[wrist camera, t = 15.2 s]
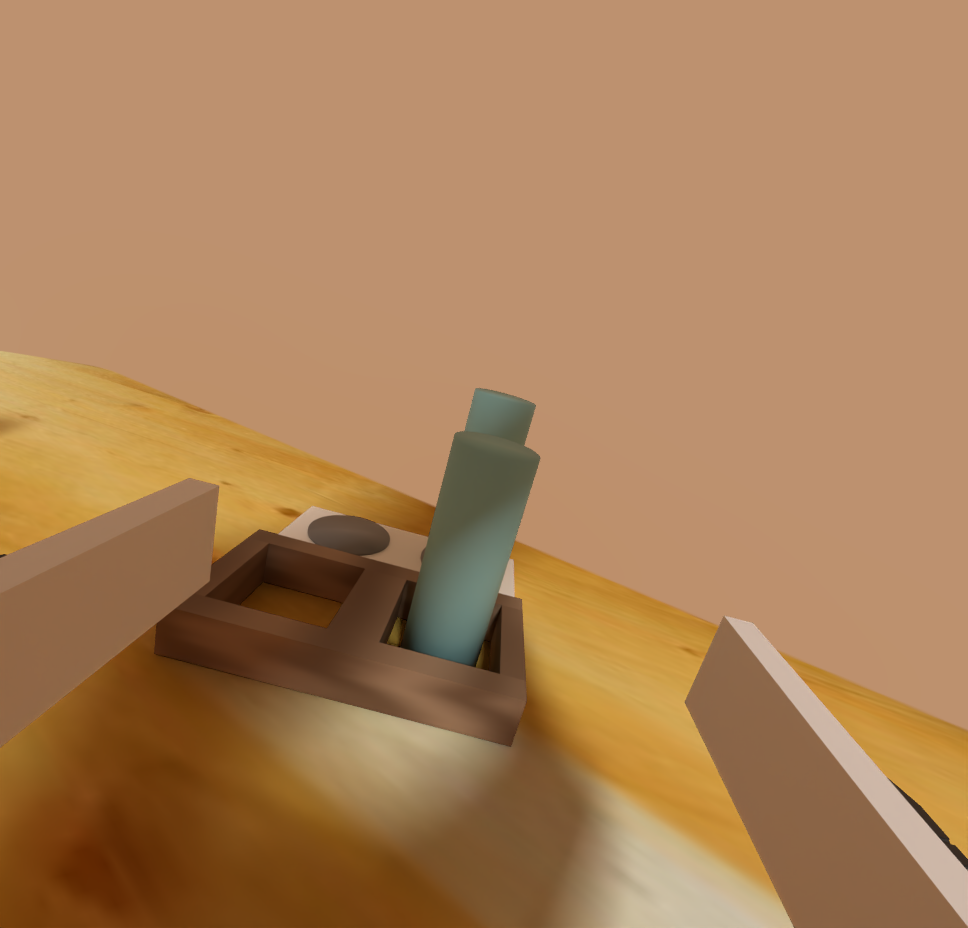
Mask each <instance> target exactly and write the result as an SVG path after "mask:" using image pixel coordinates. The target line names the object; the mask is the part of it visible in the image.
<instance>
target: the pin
mask: <svg viewBox="0 0 968 928" xmlns="http://www.w3.org/2000/svg"><path fill="white" fill-rule="evenodd" d="M535 407H536V405H535V404H534V403H531V402H529V401H527V400H524V399H521V398H518V397H515V396H512V395H508V394H505V393H501V392H497V391H493V390H488V389H481V388H476V389H475V392H474V396H473V400H472V404H471V408H470V412H469V416H468V419H467V423H466V427H465V431H468V432H478V433H484V434H489V435H493V436H497V437H500V438H504V439H507V440H510V441H513V442H516V443H518V444H521V445H523V446H524V444H525V441H526V438H527V434H528V431H529V427H530V424H531V421H532V417H533V414H534V410H535Z"/></svg>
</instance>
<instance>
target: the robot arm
mask: <svg viewBox="0 0 968 928" xmlns="http://www.w3.org/2000/svg"><path fill="white" fill-rule="evenodd" d="M218 493H219V486H218V485H215V484H211V483H207V482H203V481H199V480H195V479H191V478H188V479H186V480H184V481H181V482H179V483H176V484H174V485H172V486H169V487H167V488H165V489H162V490H160V491H158V492H155V493H153V494H150V495H148V496H146V497H143V498H141V499H139V500H136V501H134V502H131V503H129V504H127V505H124V506H122V507H120V508H117V509H115V510H113V511H110V512H108V513H105V514H103V515H101V516H98V517H96V518H94V519H91V520H89V521H87V522H84V523H82V524H79V525H77V526H75V527H72V528H70V529H68V530H65V531H63V532H61V533H58V534H56V535H53V536H51V537H49V538H46V539H44V540H42V541H39V542H37V543H34V544H32V545H30V546H27V547H25V548H23V549H20V550H18V551H16V552H13V553H11V554H8V555H6V554H3V555H0V747H2V746H3V745H4V744H5V743H7V742H8V741H9V740H10V739H12V738H13V737H14V736H15V735H17V734H18V733H19V732H20V731H22V730H23V729H24V728H25V727H27V726H28V725H29V724H30V723H32V722H33V721H34V720H36V719H37V718H38V717H39V716H41V715H42V714H43V713H44V712H46V711H47V710H48V709H49V708H51V707H52V706H53V705H54V704H56V703H57V702H58V701H59V700H61V699H62V698H63V697H64V696H66V695H67V694H68V693H69V692H71V691H72V690H73V689H75V688H76V687H77V686H78V685H80V684H81V683H82V682H83V681H85V680H86V679H87V678H88V677H90V676H91V675H92V674H93V673H95V672H96V671H97V670H98V669H100V668H101V667H102V666H103V665H105V664H106V663H107V662H108V661H110V660H111V659H112V658H114V657H115V656H116V655H117V654H119V653H120V652H121V651H122V650H124V649H125V648H126V647H127V646H129V645H130V644H131V643H132V642H134V641H135V640H136V639H137V638H139V637H140V636H141V635H142V634H144V633H145V632H146V631H148V630H149V629H150V628H151V627H153V626H154V625H155V624H156V623H158V622H159V621H160V620H161V619H163V618H164V617H165V616H166V615H168V614H169V613H170V612H171V611H173V610H174V609H175V608H176V607H178V606H179V605H180V604H181V603H183V602H184V601H185V600H187V599H188V598H189V597H190V596H192V595H193V594H194V593H195V592H197V591H198V590H199V589H200V588H202V587H203V586H204V585H205V584H207V583H208V582H209V581H210V573H211V563H212V553H213V543H214V533H215V523H216V513H217V503H218ZM685 704H686V706H687V708H688V710H689V712H690V714H691V716H692V718H693V720H694V722H695V724H696V727H697V729H698V731H699V733H700V735H701V737H702V739H703V741H704V743H705V745H706V747H707V749H708V751H709V753H710V755H711V757H712V759H713V762H714V764H715V766H716V768H717V770H718V772H719V774H720V776H721V778H722V780H723V782H724V784H725V786H726V788H727V790H728V792H729V794H730V796H731V799H732V801H733V803H734V805H735V807H736V809H737V811H738V813H739V815H740V817H741V819H742V821H743V823H744V825H745V827H746V829H747V831H748V834H749V836H750V838H751V840H752V842H753V844H754V846H755V848H756V850H757V852H758V854H759V856H760V858H761V860H762V862H763V864H764V866H765V869H766V871H767V873H768V875H769V877H770V879H771V881H772V883H773V885H774V887H775V889H776V891H777V893H778V895H779V897H780V899H781V901H782V904H783V906H784V908H785V910H786V912H787V914H788V916H789V918H790V920H791V922H792V924H793V926H794V928H968V859H967V858H966V857H965V856H964V855H963V854H962V852H961V851H960V850H959V849H958V848H957V847H956V846H955V845H951V844H950V842H949V838H948V837H947V835H946V834H945V833H944V832H943V831H942V830H941V829H940V828H939V826H938V825H937V824H936V823H935V822H934V821H933V820H932V819H931V817H930V816H929V815H928V814H927V813H926V812H925V811H924V810H923V808H922V807H921V806H920V805H919V804H917V803H916V802H915V801H914V800H913V799H912V798H911V797H909V796H908V795H907V794H906V793H905V792H904V791H902V790H901V789H900V788H899V787H898V786H897V785H895V784H894V783H893V782H892V781H891V780H890V779H888V778H887V777H886V776H885V775H884V774H883V773H882V771H881V770H880V769H879V768H878V767H877V766H876V764H875V763H874V762H873V761H872V760H871V759H870V758H869V756H868V755H867V754H866V753H865V752H864V751H863V749H862V748H861V747H860V746H859V745H858V744H857V743H856V741H855V740H854V739H853V738H852V737H851V736H850V734H849V733H848V732H847V731H846V730H845V729H844V728H843V726H842V725H841V724H840V723H839V722H838V721H837V719H836V718H835V717H834V716H833V715H832V714H831V713H830V711H829V710H828V709H827V708H826V707H825V706H824V704H823V703H822V702H821V701H820V700H819V699H818V698H817V696H816V695H815V694H814V693H813V692H812V691H811V689H810V688H809V687H808V686H807V685H806V684H805V683H804V681H803V680H802V679H801V678H800V677H799V676H798V674H797V673H796V672H795V671H794V670H793V669H792V668H791V666H790V665H789V664H788V663H787V662H786V661H785V659H784V658H783V657H782V656H781V655H780V654H779V653H778V651H777V650H776V649H775V648H774V647H773V646H772V644H771V643H770V642H769V641H768V640H767V639H766V638H765V637H764V636H763V634H762V633H761V632H760V631H759V629H758V628H757V627H756V626H755V625H754V624H753V623H751V622H747V621H743V620H739V619H735V618H731V617H727V616H724V617H723V619H722V621H721V623H720V625H719V628H718V630H717V632H716V634H715V636H714V639H713V641H712V643H711V645H710V647H709V650H708V652H707V654H706V656H705V658H704V661H703V663H702V665H701V667H700V669H699V672H698V674H697V676H696V678H695V680H694V683H693V685H692V687H691V689H690V691H689V694H688V696H687V698H686V700H685Z"/></svg>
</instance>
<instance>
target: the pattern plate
mask: <svg viewBox="0 0 968 928" xmlns="http://www.w3.org/2000/svg"><path fill="white" fill-rule="evenodd" d="M279 535H283V536H286V537H290V538H294V539H298V540H301V541H305V542H309V543H313V544H317V545H320V546H324V547H328V548H332V549H335V550H339V551H343V552H347V553H350V554H354V555H358V556H362V557H365V558H369V559H373V560H377V561H380V562H384V563H388V564H392V565H396V566H399V567H403V568H407V569H411V570H414V571H418V572H420V568H421V564H422V560H423V557H424V553H425V549H426V545H427V541H428V537H427V536H423V535H419V534H415V533H412V532H408V531H404V530H400V529H397V528H393V527H389V526H386V525H382V524H378V523H375V522H373V521H370V520H367V519H364V518H360V517H355V516H348V515H344V514H341V513H337V512H333V511H329V510H326V509H322V508H318V507H314V506H312V507H310V508H309V509H308V510H307V511H306V512H304V513H303V514H302V515H301V516H299V517H298V518H297V519H296V520H295V521H293V522H292V523H291V524H290V525H288V526H287V527H286V528H285V529H284V530H282V531H281V532H280V533H279ZM499 593H501V594H505V595H508V596H512V597H514V560H513V559H509V561H508V564H507V567H506V570H505V574H504V577H503V580H502V583H501V586H500V590H499Z"/></svg>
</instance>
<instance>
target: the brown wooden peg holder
mask: <svg viewBox="0 0 968 928" xmlns="http://www.w3.org/2000/svg"><path fill="white" fill-rule="evenodd" d="M418 576H419V572H418V571H414V570H411V569H407V568H403V567H399V566H396V565H392V564H388V563H384V562H380V561H377V560H373V559H369V558H365V557H362V556H358V555H354V554H350V553H347V552H343V551H339V550H335V549H332V548H328V547H324V546H320V545H317V544H313V543H309V542H305V541H301V540H298V539H294V538H290V537H286V536H283V535H279V534H275V533H271V532H268V531H264V530H260V529H259V530H258V531H257V532H255V533H254V534H253V535H251V536H250V537H248V538H247V539H246V540H244V541H243V542H242V543H240V544H239V545H238V546H236V547H235V548H234V549H232V550H231V551H230V552H228V553H227V554H225V555H224V556H223V557H221V558H220V559H219V560H217V561H216V562H215V563H213V564H212V565H211V573H210V581H209V582H208V583H207V584H205V585H204V586H203V587H202V588H200V589H199V590H198V591H197V592H195V593H194V594H193V595H192V596H190V597H189V598H188V599H187V600H185V601H184V602H183V603H181V604H180V605H179V606H178V607H176V608H175V609H174V610H173V611H171V612H170V613H169V614H168V615H166V616H165V617H164V618H163V619H161V620H160V621H159V622H158V623H157V625H156V637H155V649H154V654H158V655H162V656H166V657H170V658H173V659H177V660H181V661H185V662H189V663H193V664H196V665H200V666H204V667H208V668H212V669H216V670H219V671H223V672H227V673H231V674H235V675H239V676H242V677H246V678H250V679H254V680H258V681H262V682H265V683H269V684H273V685H277V686H281V687H285V688H288V689H292V690H296V691H300V692H304V693H308V694H311V695H315V696H319V697H323V698H327V699H331V700H334V701H338V702H342V703H346V704H350V705H354V706H357V707H361V708H365V709H369V710H373V711H377V712H380V713H384V714H388V715H392V716H396V717H400V718H403V719H407V720H411V721H415V722H419V723H423V724H426V725H430V726H434V727H438V728H442V729H446V730H449V731H453V732H457V733H461V734H465V735H469V736H472V737H476V738H480V739H484V740H488V741H492V742H495V743H499V744H503V745H507V746H511V745H512V742H513V739H514V736H515V733H516V730H517V728H518V725H519V722H520V719H521V716H522V713H523V710H524V708H525V705H526V702H527V694H526V674H525V653H524V633H523V613H522V599H520V598H516V597H512V596H508V595H505V594H501V593H498V596H497V599H496V603H495V606H494V609H493V612H492V615H491V619H490V622H489V625H488V628H487V631H486V635H485V638H484V640H486V641H490V642H491V643H490V659H489V671H487V670H483V669H479V668H475V667H472V666H468V665H464V664H460V663H456V662H453V661H449V660H445V659H441V658H437V657H434V656H430V655H426V654H422V653H418V652H415V651H411V650H407V649H403V648H399V647H396V646H392V645H388V644H386V643H387V641H388V639H389V636H390V634H391V631H392V629H393V626H394V624H395V622H396V619H397V617H399V618H403V619H408V615H409V611H410V608H411V604H412V600H413V596H414V592H415V588H416V584H417V580H418ZM262 582H267V583H270V584H274V585H278V586H282V587H285V588H289V589H293V590H297V591H301V592H304V593H308V594H312V595H316V596H320V597H323V598H327V599H331V600H335V601H338V602H342V603H343V604H342V606H341V607H340V609H339V611H338V612H337V614H336V615H335V617H334V618H333V620H332V621H331V623H330V625H329V626H328V628H323V627H320V626H316V625H312V624H308V623H304V622H301V621H297V620H293V619H289V618H285V617H282V616H278V615H274V614H270V613H266V612H263V611H259V610H255V609H251V608H247V607H244V606H240V605H239V604H240V603H241V602H243V601H244V600H245V599H246V598H247V597H248V596H249V595H250V594H251V593H252V592H253V591H254V590H255V589H256V588H257V587H258V586H259V585H260V584H261V583H262Z"/></svg>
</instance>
